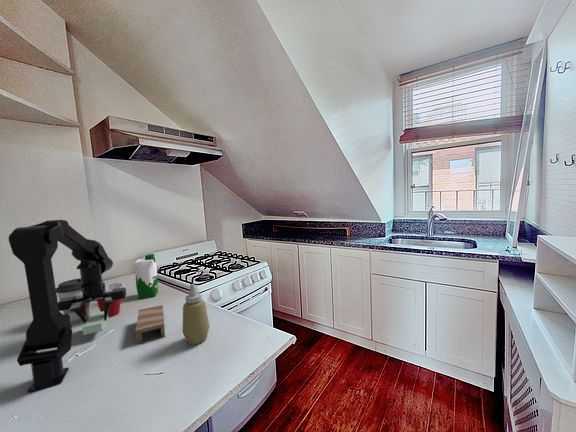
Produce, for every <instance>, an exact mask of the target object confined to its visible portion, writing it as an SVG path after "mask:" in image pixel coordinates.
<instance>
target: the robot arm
mask: <svg viewBox="0 0 576 432" xmlns="http://www.w3.org/2000/svg"><path fill="white" fill-rule="evenodd" d="M58 243H60V244H62V245H64V247H67V248H68V249H70V250H71V255H72V257H73V258H74V259H75V260H76V261H80V263H78V265H77V267H76V270H79V273H80V274H79V275H80V278H81V292H82V293H83V297H82V298H77V299H76V296H72V297H66V298H62V299H61V300H60V299H59V301H58V296H57V295H58V293H56V284H55V282H56V281H55V275H54V270H53V264H52V263H53V262H52V258H53V257H54V255H55V253H56V251H57V250H58V245H59V244H58ZM8 244H9V245H10V248H11V251H12V254H13V255H14V256H15V257H16V258H17V260H19V261H20V262H21V263H23V265H24V271H25V272H24V273H25V277H26V283H27V290H28V295H29V296H28V297H29V303H30V308H31V313H32V314H31V315H32V321H31V322H30V324H29V326H28V327H27V329H26V331H25V340H24V343H23V345H22V347H21V350H20V351H19V354H18V356H17V359H16V362H17V364H18V365H19V367H21V366H27V365H30V367H31V375H32V382H31V384H30V386H29V387H28V388H27V390H26V391H27V392H26V393H32V392H35V391H38V390H43V389H46V388H49V387H52V386H55V385H58V384H61V383H63V381H64V379H65V377H66V375H67V373H68V372H69V370H70V367H64V362H63V357H64V356H65V355H66V354H68V353H69V352H70V351H71V349H72V340H73V339H72V338H73V329H72V327H73V325H72V324H71V323H72V322H70V316H69V314H64V313H62V312H63V310H68V309H70V307H71V309H70V311H74V312H75V313H76V314H77V315H78V316H79V317H80V318H81V321H82V322H83V323H84V324H85V323H86V321H87V320H88V317H87V314H86V310H85V303H86V302H90V303H91V302H95V301H96V302H97V300H102V299H105V300H106V301H105V303H104V319H105V321H106V320H107V321H108V319H107V316H108V312H109V308H110V305H111V303H114V302H115V300H120V299H121V300H123V299H125V298H126V296H127V289H126V287H125V286H124V287H122V288H117V289H113V290H112V292H110V293H105V294H104V292H105V284H106V283H105V282H103V277H102V276H103V274H104V273H106V272H107V271H109V270H111V269H112V268H113V266H114V262H113V260H112V259H111V258H110V257H109V256H108V254H107V252H106V250H105V248H104V247H103V245H102V244H101V243H100V242H99V241H96V240H94V239H87V238H86V237H85V236H83V235H82V234H80V233H79V231H77V230H75V229H74V227H72V226H71V225H70V224H69V222H68V221H67V220H65V219H53V220H45V221H42V222H40V223H37V224H33V225H30V226H29V225H28V226H24V227H23V226H20V227H16V228H14V229H13V231H11V233H10V234H9V235H8ZM97 297H99V298H97ZM87 299H88V300H87ZM107 321H106V322H107ZM50 349H51V350H50ZM43 350H44V351H43Z"/></svg>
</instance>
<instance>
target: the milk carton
mask: <svg viewBox="0 0 576 432" xmlns="http://www.w3.org/2000/svg"><path fill="white" fill-rule="evenodd" d="M133 265H134V276H135V286H136V287H135V288H136V292H137V297H138V300H143V299H144V300H145V299H150V298H155V297H156V296H157V294H158V293H159V280H158V279H159V278H158V268H157V267H158V266H157V257H156V256H155V253H148V254H144V257H143V258H138V259H137V260H135V261H134V262H133Z"/></svg>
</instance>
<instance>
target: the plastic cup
mask: <svg viewBox="0 0 576 432" xmlns="http://www.w3.org/2000/svg"><path fill="white" fill-rule="evenodd" d="M122 287H124V288H125V284H124V283H122V282H109V283H105V292H104V294H105V293H110V292H112V290H113V289H117V288H122ZM97 298H99V297H97ZM105 301H106V300H105V299H102V300H97V301H96V302H97V306H98V309H99V312H102V311H104V303H105ZM121 303H122V299H120V300H115V302H114V303H111V305H110V308H109V312H108V318H113V317H115V316H117V315H119V314H120V311H121Z"/></svg>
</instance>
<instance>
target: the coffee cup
mask: <svg viewBox="0 0 576 432" xmlns="http://www.w3.org/2000/svg"><path fill="white" fill-rule="evenodd" d="M55 288H56V287H55ZM56 294H57V295H58V296H57V297H58V298H59V299H58V300H59V301H60V300H61V299H62V298H66V297H72V296H76V299H77V298H82V297H83V293H82V292H81V277H80V278H79V277H78V278H73V279H69V280H66V281H62V282H60V283H58V284H57V288H56ZM87 300H88V299H87ZM90 304H91V302H86V303H85V310H86V314H87V318H89V316H90V308H91V307H90V306H91V305H90ZM70 309H71V307H70ZM70 309H68V310H63V311H62V312H63V313H62V314H69V316H70V323H72V322H73V323H74V322H77V321H82V319H81V318H80V317H79V316H78V315H77V314H76V313H75V312H74V311H70Z"/></svg>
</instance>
